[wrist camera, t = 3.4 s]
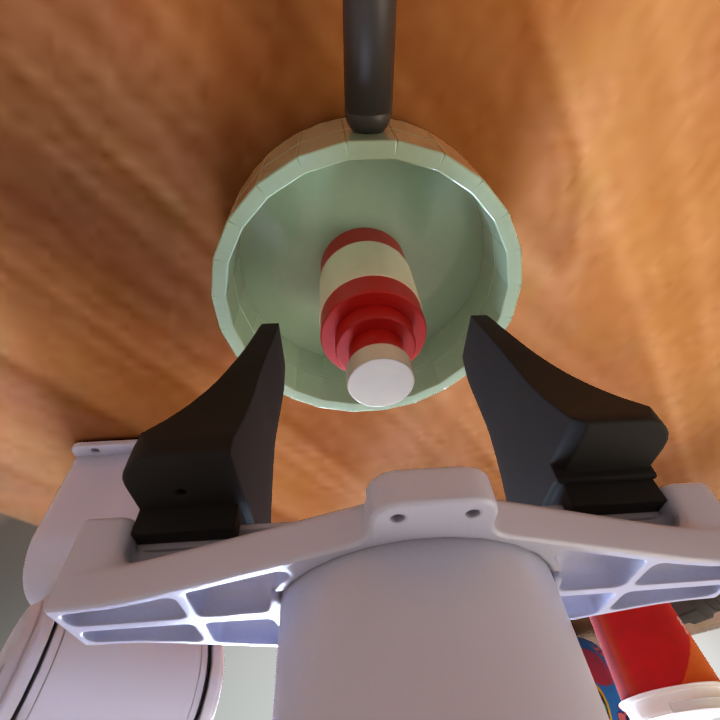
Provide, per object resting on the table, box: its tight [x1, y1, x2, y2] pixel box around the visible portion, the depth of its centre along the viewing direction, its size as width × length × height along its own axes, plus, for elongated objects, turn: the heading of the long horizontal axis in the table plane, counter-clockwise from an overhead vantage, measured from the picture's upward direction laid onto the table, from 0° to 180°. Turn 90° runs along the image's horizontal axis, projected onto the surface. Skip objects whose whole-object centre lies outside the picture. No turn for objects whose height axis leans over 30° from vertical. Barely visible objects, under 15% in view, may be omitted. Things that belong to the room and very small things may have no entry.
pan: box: [211, 117, 522, 412], centre depth 19 cm, size 13×13×4 cm
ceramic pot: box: [577, 637, 630, 720], centre depth 56 cm, size 18×18×15 cm
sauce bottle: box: [319, 228, 427, 407], centre depth 17 cm, size 4×4×8 cm
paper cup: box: [589, 603, 720, 720], centre depth 36 cm, size 8×8×14 cm
